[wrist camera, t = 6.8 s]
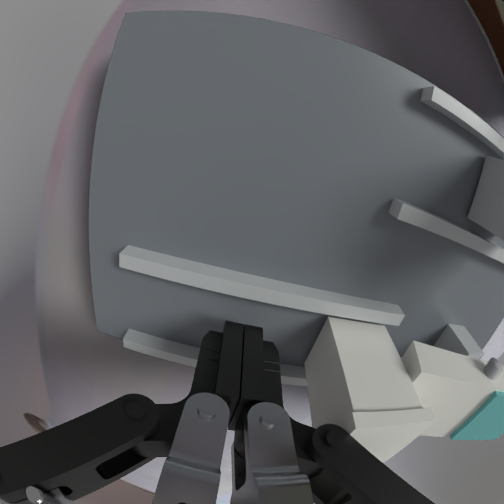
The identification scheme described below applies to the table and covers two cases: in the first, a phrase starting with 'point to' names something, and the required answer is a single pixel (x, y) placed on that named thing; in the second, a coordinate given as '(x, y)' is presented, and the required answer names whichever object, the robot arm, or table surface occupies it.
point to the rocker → (457, 392)
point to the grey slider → (490, 198)
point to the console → (283, 193)
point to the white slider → (364, 387)
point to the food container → (491, 27)
